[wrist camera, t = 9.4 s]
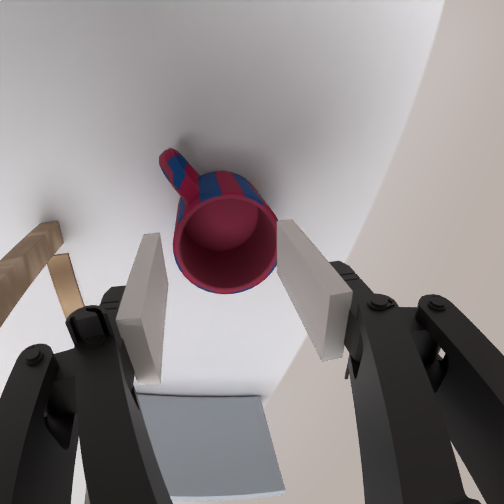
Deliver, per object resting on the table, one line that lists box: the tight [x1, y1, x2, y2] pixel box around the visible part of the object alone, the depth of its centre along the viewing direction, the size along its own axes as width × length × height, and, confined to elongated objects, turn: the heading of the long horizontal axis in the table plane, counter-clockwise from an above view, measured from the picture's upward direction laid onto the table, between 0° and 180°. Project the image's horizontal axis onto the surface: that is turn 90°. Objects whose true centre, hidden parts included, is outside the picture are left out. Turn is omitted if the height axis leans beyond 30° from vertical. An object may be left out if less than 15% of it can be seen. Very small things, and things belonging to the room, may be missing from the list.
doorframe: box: [0, 221, 90, 504], centre depth 22 cm, size 26×2×15 cm, turn 2°
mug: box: [159, 148, 278, 294], centre depth 22 cm, size 7×10×7 cm
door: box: [137, 394, 285, 501], centre depth 28 cm, size 16×3×13 cm, turn 81°
